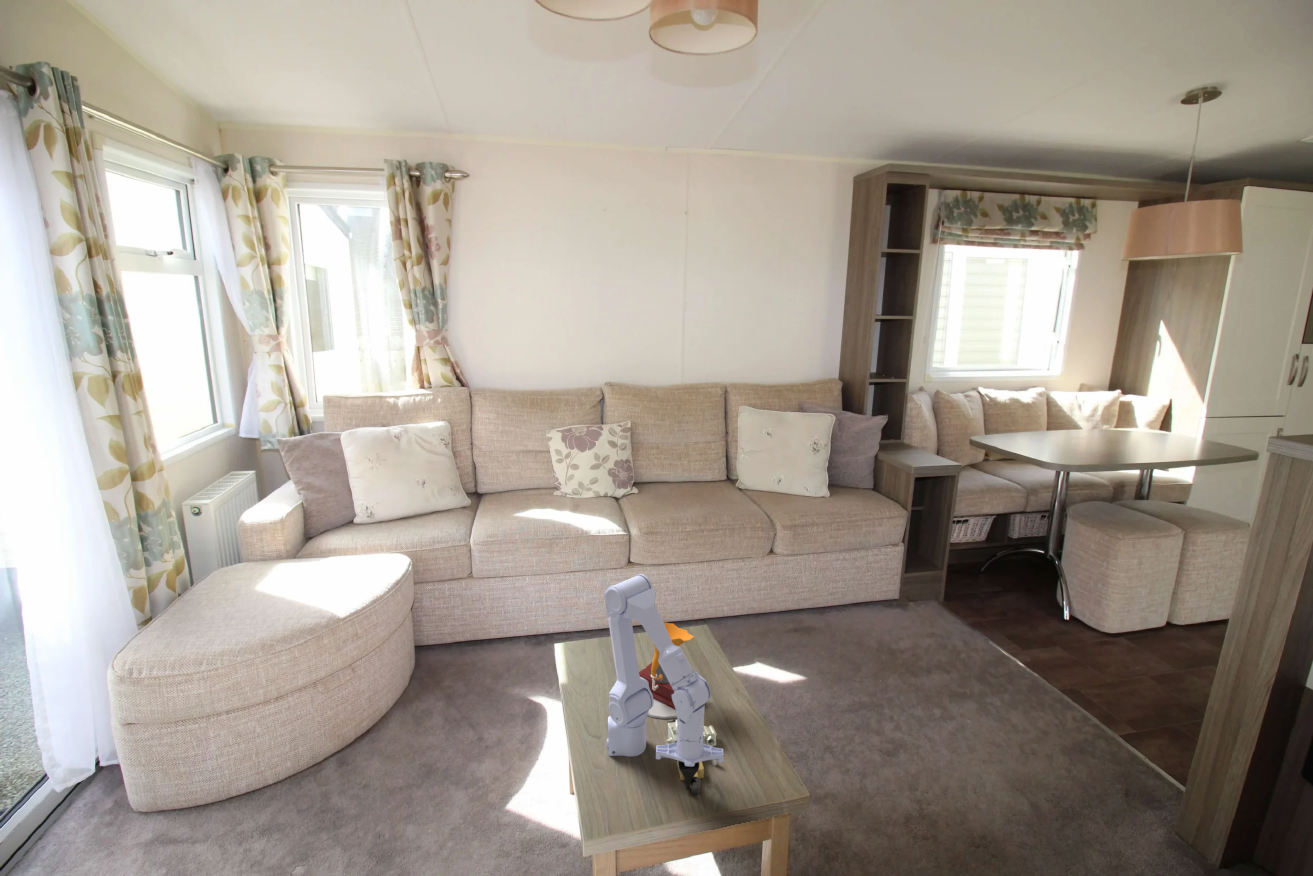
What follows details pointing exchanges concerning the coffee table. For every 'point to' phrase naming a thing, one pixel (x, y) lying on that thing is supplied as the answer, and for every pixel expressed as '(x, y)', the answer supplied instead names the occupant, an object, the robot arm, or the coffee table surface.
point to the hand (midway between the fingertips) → (688, 786)
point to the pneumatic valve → (708, 736)
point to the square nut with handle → (694, 779)
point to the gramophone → (663, 677)
